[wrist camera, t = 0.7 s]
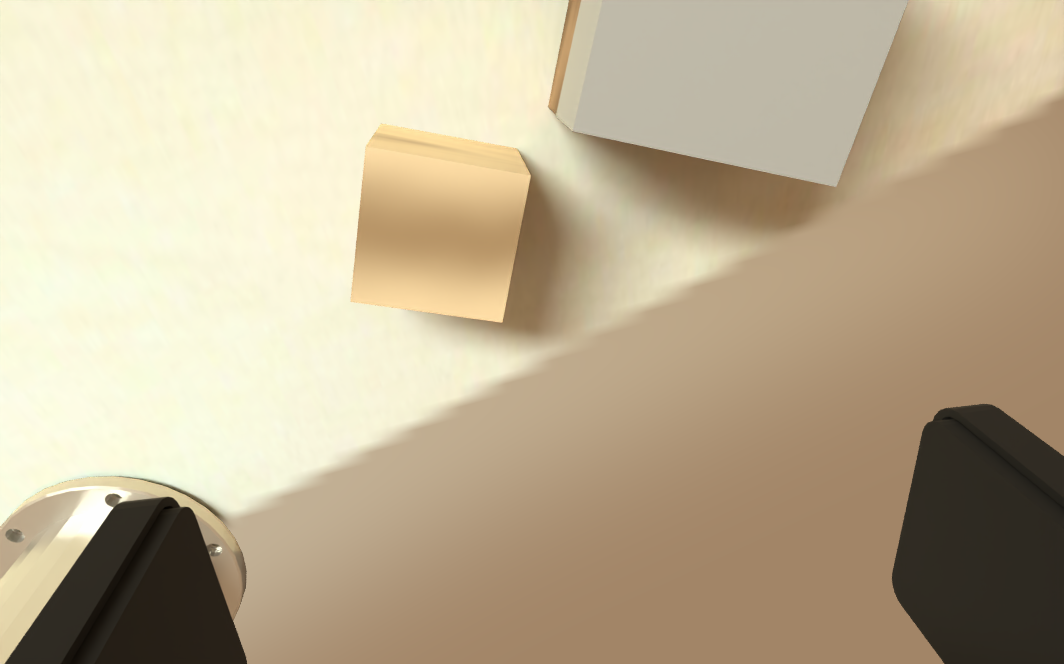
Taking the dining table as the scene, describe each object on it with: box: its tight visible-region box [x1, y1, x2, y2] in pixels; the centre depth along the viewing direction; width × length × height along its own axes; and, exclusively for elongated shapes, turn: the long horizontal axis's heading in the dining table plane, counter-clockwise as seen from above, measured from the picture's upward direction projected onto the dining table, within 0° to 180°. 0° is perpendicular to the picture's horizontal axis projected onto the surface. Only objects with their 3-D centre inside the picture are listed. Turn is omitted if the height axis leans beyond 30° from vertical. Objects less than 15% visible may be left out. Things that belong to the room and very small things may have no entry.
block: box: [351, 124, 531, 323], centre depth 29 cm, size 6×6×6 cm
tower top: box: [556, 0, 909, 187], centre depth 24 cm, size 10×10×4 cm
